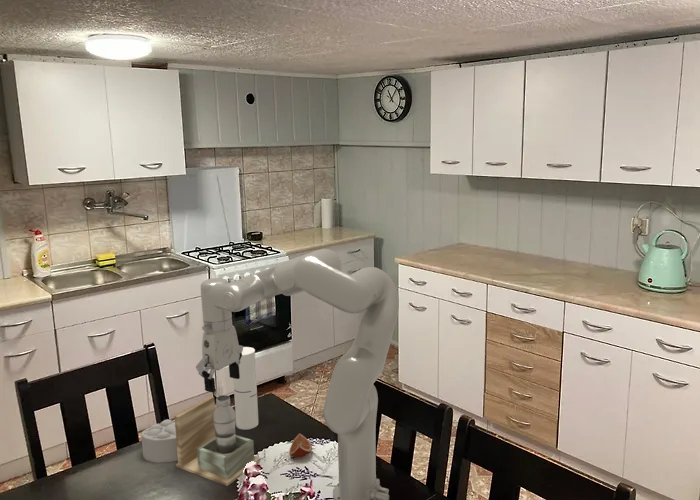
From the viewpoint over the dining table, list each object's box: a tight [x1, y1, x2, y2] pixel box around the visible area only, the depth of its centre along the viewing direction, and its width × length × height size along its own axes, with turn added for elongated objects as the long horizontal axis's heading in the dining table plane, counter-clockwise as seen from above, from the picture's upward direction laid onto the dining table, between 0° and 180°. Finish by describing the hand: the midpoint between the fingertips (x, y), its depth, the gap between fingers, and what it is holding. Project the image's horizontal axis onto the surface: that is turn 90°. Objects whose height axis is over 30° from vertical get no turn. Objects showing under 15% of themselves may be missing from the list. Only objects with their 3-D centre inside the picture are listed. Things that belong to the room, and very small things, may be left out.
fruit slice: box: [288, 432, 313, 459], centre depth 167 cm, size 8×7×5 cm
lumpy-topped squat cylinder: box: [140, 418, 178, 464], centre depth 169 cm, size 10×13×9 cm
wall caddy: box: [173, 395, 261, 487], centre depth 162 cm, size 19×14×16 cm
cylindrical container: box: [232, 346, 259, 430], centre depth 183 cm, size 7×7×25 cm
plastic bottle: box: [212, 394, 238, 456], centre depth 160 cm, size 6×7×20 cm
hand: (222, 384), depth 157 cm, fingers open, 9 cm apart
